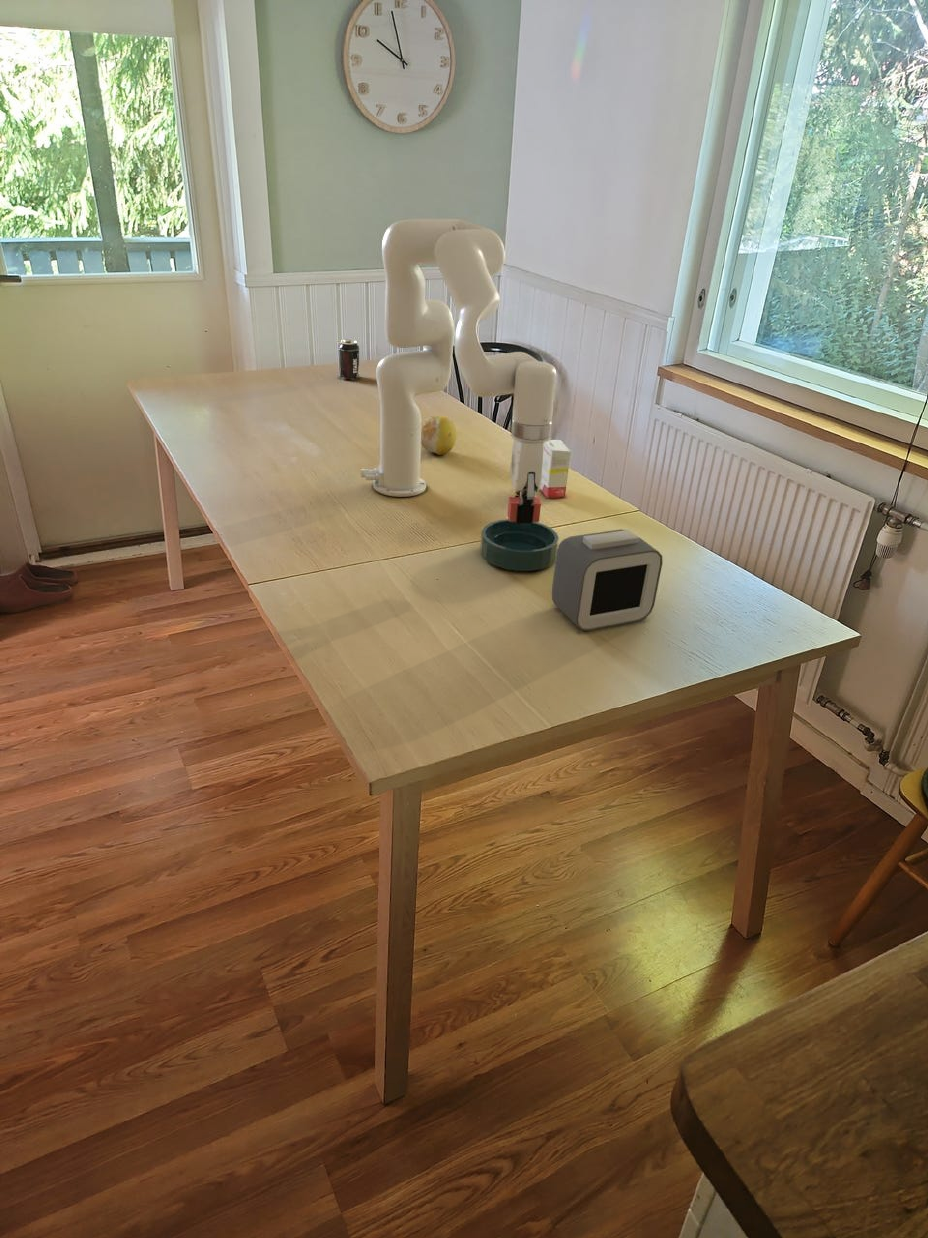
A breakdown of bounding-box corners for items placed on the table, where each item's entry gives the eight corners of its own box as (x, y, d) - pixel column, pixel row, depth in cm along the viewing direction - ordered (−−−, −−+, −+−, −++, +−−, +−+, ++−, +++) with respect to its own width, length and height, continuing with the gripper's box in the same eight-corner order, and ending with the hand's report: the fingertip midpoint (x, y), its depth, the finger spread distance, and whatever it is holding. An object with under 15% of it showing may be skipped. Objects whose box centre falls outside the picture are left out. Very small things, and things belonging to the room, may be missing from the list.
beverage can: (336, 379, 280) (335, 342, 274) (342, 374, 286) (341, 338, 279) (356, 381, 279) (355, 344, 273) (361, 376, 285) (361, 340, 279)
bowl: (484, 573, 166) (485, 551, 163) (477, 539, 179) (478, 518, 177) (561, 575, 167) (564, 552, 165) (548, 541, 181) (551, 519, 178)
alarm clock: (574, 633, 148) (586, 554, 140) (544, 603, 157) (553, 527, 149) (651, 619, 154) (666, 542, 146) (618, 590, 163) (630, 516, 155)
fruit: (436, 443, 230) (438, 407, 225) (463, 454, 224) (466, 418, 219) (408, 451, 224) (409, 414, 219) (435, 462, 218) (437, 425, 213)
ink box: (566, 498, 202) (572, 450, 196) (546, 498, 201) (552, 451, 195) (555, 484, 209) (561, 438, 203) (536, 485, 208) (541, 438, 202)
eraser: (509, 521, 167) (510, 503, 165) (507, 515, 170) (508, 496, 168) (539, 522, 167) (541, 503, 165) (536, 515, 170) (538, 497, 168)
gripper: (506, 416, 166) (499, 502, 175) (517, 443, 152) (509, 535, 161) (543, 417, 167) (535, 503, 176) (557, 444, 153) (547, 536, 162)
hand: (522, 517), depth 169 cm, fingers closed on eraser, 3 cm apart
